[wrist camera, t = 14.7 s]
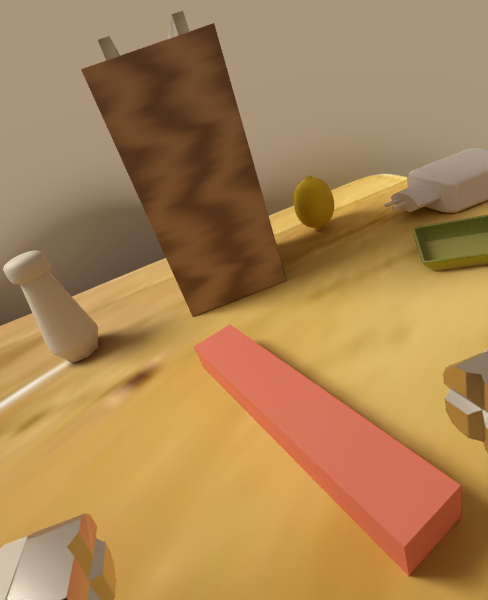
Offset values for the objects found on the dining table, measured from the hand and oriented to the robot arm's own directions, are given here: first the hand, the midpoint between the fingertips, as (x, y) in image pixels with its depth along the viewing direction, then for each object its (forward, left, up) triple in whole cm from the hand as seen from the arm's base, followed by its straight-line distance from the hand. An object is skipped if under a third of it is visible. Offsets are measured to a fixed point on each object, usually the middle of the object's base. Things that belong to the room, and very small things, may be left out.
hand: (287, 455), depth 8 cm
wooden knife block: (+2, +39, -14) cm, 42 cm away
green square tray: (+25, +25, -15) cm, 38 cm away
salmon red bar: (+1, +13, -14) cm, 20 cm away
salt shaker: (-18, +35, -14) cm, 42 cm away
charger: (+32, +38, -14) cm, 51 cm away
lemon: (+17, +44, -14) cm, 49 cm away
